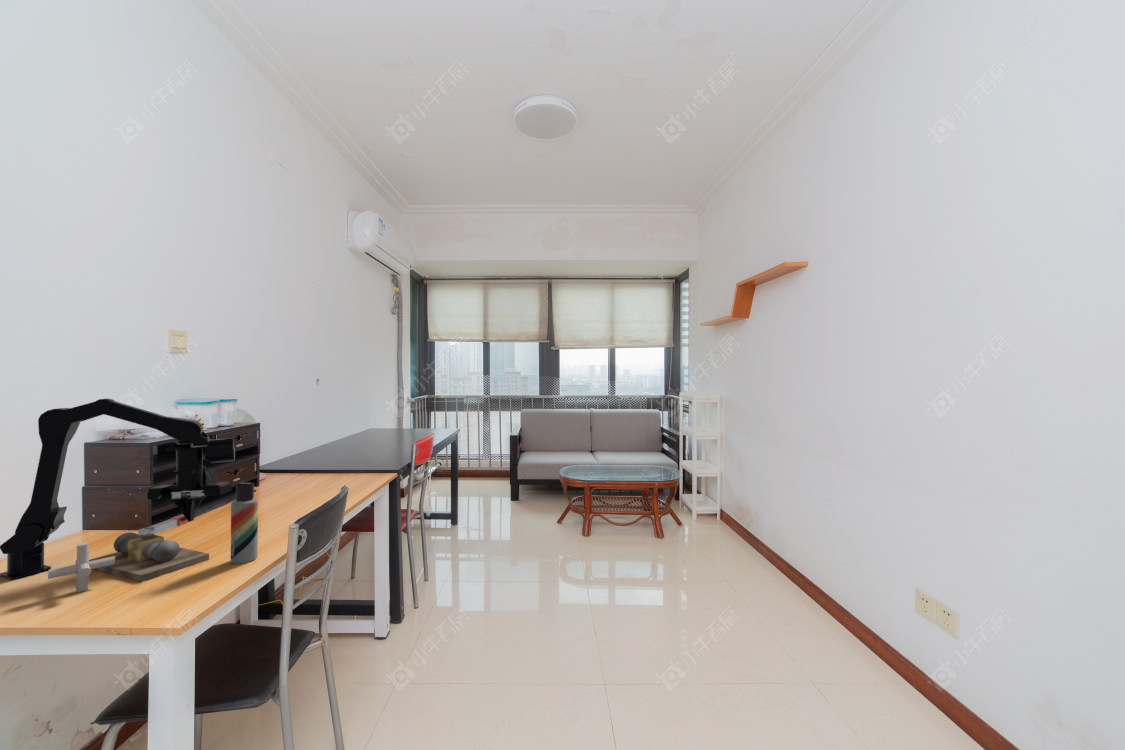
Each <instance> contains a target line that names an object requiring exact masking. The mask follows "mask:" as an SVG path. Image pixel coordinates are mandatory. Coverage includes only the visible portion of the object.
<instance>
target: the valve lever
mask: <svg viewBox="0 0 1125 750" xmlns="http://www.w3.org/2000/svg"><path fill="white" fill-rule="evenodd" d="M194 520H195V518H194V519H193V521H194ZM188 523H189V522H188V520H187V519H186V517H185V516H184V515H183V513H182V514H178V515H175V516H174V517H173V516H172V517H170V518H169V519H167V520H164V521H162V522H159V523H155V524H152V525H150V526H147V527H143V528H140V529H138V530H137V531H138V532H137V534H138V538H147V537H151V536H154V535H156V534H159V533H162V532H164V531H168V530H170V529H173V528H175V527H177V526H178V527H179V526H182V525H185V524H188Z"/></svg>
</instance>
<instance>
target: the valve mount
mask: <svg viewBox="0 0 1125 750" xmlns="http://www.w3.org/2000/svg"><path fill="white" fill-rule="evenodd" d="M113 548H114V549H113V550H115V552H114V553H110V554H106V555H102V556H98V557H95V558H91V559H89V562H90V561H94V560H99V559H104V558H108V557H113V556H115V564H113V565H108V566H104V567H100V568H95V569H94V570H95V571H99V572H103V573H107V574H109V575H114V576H117V577H122V578H126V579H129V580H132V581H133V580H134V581H137V582H141V583H142V582H146V581H149V580H151V579H154V578H158V577H161V576H163V575H167V574H170V573H172V572H175V571H178V570H182V569H184V568H187V567H188V568H189V567H191V566H194V565H197V564H199V563H200V564H201V563H202V562H205V561H209V560H210V553H209V552H208V553H207V552H204V551H198V550H195V549H188V548H184V547H180V545H179V543H178V541H175V540H171V539H166V540H165V536H163V535H156V534H154V536H151V537H147V538H138V533H135V532H131V531H129V532H124V533H122V534H120V535H119V536H117V537H116V538H115V540H114V542H113Z"/></svg>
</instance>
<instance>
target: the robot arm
mask: <svg viewBox="0 0 1125 750" xmlns="http://www.w3.org/2000/svg"><path fill="white" fill-rule="evenodd" d="M102 415H104V416H109V417H112V418H115V419H119V420H123V421H125V422H129V423H132V424H137V425H140V426H143V427H147V428H149V429H150V428H151V429H154V430H158V431H160V432H161V433H163V434H164V435H167V436H169V437H171V438H173V439H175V440H178V441H179V442H183V443H179V442H178V441H173V443H172V444H171V445H170V446H169V447H167V448H166V451H167V452H175V462H176V463H175V464H176V466H175V467H176V468H175V469H176V470H173V471H172V476H176V477H175V478H176V484H175V483H174V484H173V483H172V484H161V485H157V486H154V487H150V488H149V489H148V490H147V492H146V493H145V494H146V495H145V496H146V500H158V499H160V498H161V497H162V496H169V495H171V498H169V502H173V503H174V505H176V507H177V508H178V509H179V510H180V512H181V513H182V514H183V515H184V516H185V517H186V519H187V520H188V523H189V522H193V521H194V520H195V516H196V514H197V512H198V510H199V506H200V505H201V503H202V501H203V500H204V499H205V498H206V497H217V496H222V495H224V494H227V493H229V492H232V491H233V489H232V484H231V483H230V482H229V481H217V480H218V475H219V474H218V473H215V472H211V471H208V468H207V466H204V465H203V464H204V462H203V461H204V460H205V461H208V462H210V464H216V463H217V464H218V463H227V462H228V463H229V462H235V459H236V447H235V443H234V437H226V438H221V439H220V438H219V439H218V438H217V439H212V438H211V437H210V435H208V434H207V433H205V431H204V427H203V425H202V423H201V422H199V421H197V420H195V419H187V418H182V417H181V418H180V417H175V416H174V417H173V416H167V415H163V414H159V413H155V412H153V411H149V410H145V409H142V408H139V407H136V406H132V405H129V404H125V403H122V402H119V401H116V400H114V399H112V398H100V399H97V400H95V401H93V402H89V403H86V404H82V405H77V406H74V407H71V408H70V407H61V408H60V407H58V408H51V409H49V410H46V411H44V412H43V413H41V414H40V415H39V417H38V419H37V423H38V424H37V427H38V436H39V439H40V442H41V451H40V454H39V455H40V456H39V460H38V464H37V470H36V474H35V479H34V484H33V489H32V493H31V498H30V503H29V505H28V506H27V508H26V510H25V511H24V513H22V515H21V518H20V520H19V522H18V524H17V526H16V527H15V528H16V529H15V531H14V534H13V535H12V536H11V537H10V538H8V539H7V540H5V541H4V542H2V544H0V551H1V553H2V554H3V555H7V559H6V562H7V563H6V571H4V572H0V577H3V578H5V577H6V579H9V580H14V579H19V578H23V577H27V576H30V575H33V574H38V573H42V572H46V571H48V570H52V566H49V565H46V564H45V541H48V539H49V537H50V536H51V535H52V534H53V533H54V532H56V531H57V530H58V529H59V528H60V526H61V525H63V524H64V523H65V522H66V521H65V519H64V518H65V514H66V511H67V509H68V507H67V506H60V505H59V503H58V497H59V492H60V486H61V481H62V478H63V477H62V476H63V473H64V467H65V461H66V457H67V452H68V449H69V448H68V446H69V445H70V442H71V440H72V439H73V438H74V436H75V434H76V433H77V430H78V428H79V426H80V424H81V422H86V421H87V420H91V419H95V418H97V417H100V416H102ZM193 443H194V444H196V445H194V444H193ZM203 449H204V450H203ZM203 451H204V455H203ZM203 456H204V457H203ZM203 459H204V460H203ZM193 519H194V520H193Z"/></svg>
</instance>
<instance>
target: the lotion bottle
mask: <svg viewBox="0 0 1125 750" xmlns="http://www.w3.org/2000/svg"><path fill="white" fill-rule="evenodd" d="M254 492H255V483H254V482H246V481H243V482H238V483H236V484H235V500H234V501H231V503H230V562H231V563H232V564H233V565H234V564H235V565H236V564H237V565H238V564H240V563H241V564H246V562H247V563H249V561H250V562H252V560H253V561H254V559H255V560H256V559H258V554H259V553H258V552H259V499H258V498H255V496H254V495H255V493H254Z"/></svg>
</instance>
